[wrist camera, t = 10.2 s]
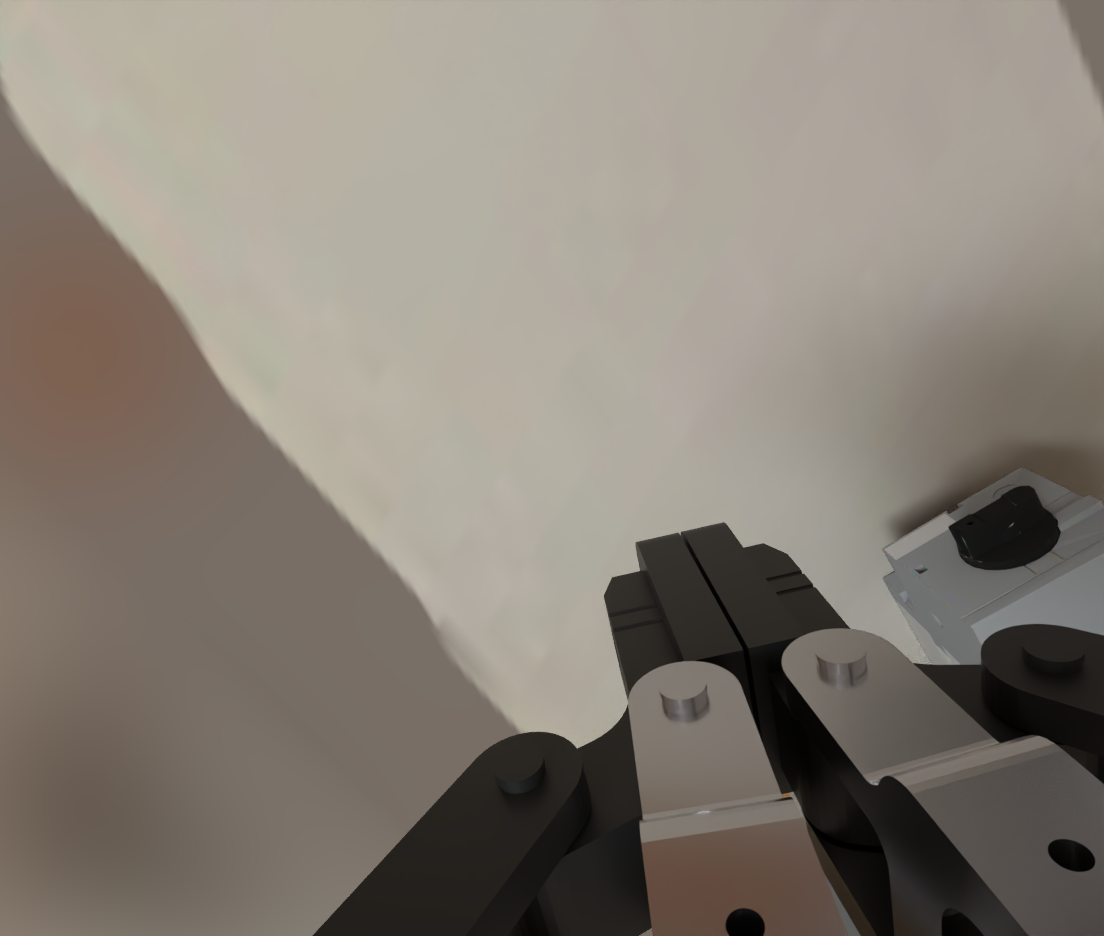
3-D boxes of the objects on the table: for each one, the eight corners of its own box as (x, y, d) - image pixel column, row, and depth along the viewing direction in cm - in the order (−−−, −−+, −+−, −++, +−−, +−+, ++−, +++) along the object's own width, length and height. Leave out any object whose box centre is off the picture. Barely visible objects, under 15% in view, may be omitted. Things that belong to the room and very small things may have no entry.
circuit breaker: (960, 417, 38) (1226, 535, 24) (1055, 613, 43) (1327, 810, 28) (834, 494, 39) (1018, 650, 25) (939, 677, 44) (1146, 898, 29)
